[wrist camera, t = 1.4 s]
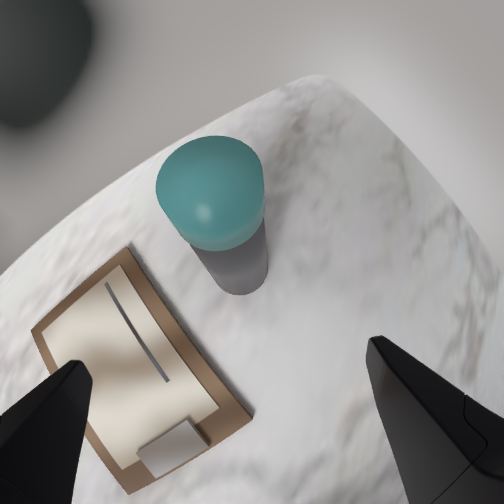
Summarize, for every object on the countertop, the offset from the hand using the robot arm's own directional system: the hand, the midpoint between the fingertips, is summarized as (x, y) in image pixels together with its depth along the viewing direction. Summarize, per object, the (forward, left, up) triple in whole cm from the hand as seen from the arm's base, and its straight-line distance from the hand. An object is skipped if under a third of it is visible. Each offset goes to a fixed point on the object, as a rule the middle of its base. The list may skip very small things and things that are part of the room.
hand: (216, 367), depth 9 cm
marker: (+6, -4, -13) cm, 15 cm away
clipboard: (+5, +8, -13) cm, 16 cm away
